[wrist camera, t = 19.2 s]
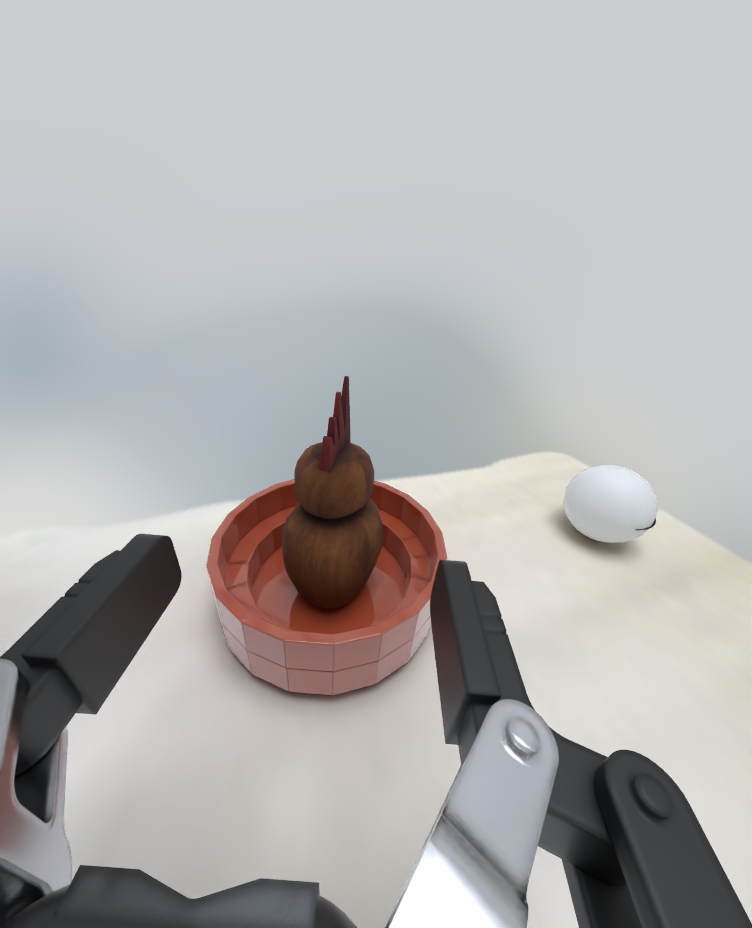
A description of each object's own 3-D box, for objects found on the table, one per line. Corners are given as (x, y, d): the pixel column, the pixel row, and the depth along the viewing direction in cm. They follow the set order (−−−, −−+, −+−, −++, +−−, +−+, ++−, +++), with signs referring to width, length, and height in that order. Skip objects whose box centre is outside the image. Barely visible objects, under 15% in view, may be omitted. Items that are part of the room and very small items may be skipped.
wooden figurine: (332, 541, 29) (334, 364, 21) (389, 574, 26) (415, 384, 18) (270, 595, 23) (244, 386, 16) (333, 641, 21) (338, 419, 13)
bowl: (175, 690, 19) (149, 630, 16) (264, 517, 32) (258, 468, 29) (446, 712, 19) (467, 656, 16) (423, 530, 32) (432, 482, 29)
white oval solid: (607, 571, 29) (648, 503, 25) (537, 520, 35) (562, 458, 31) (665, 539, 33) (707, 478, 30) (595, 498, 39) (622, 442, 35)
